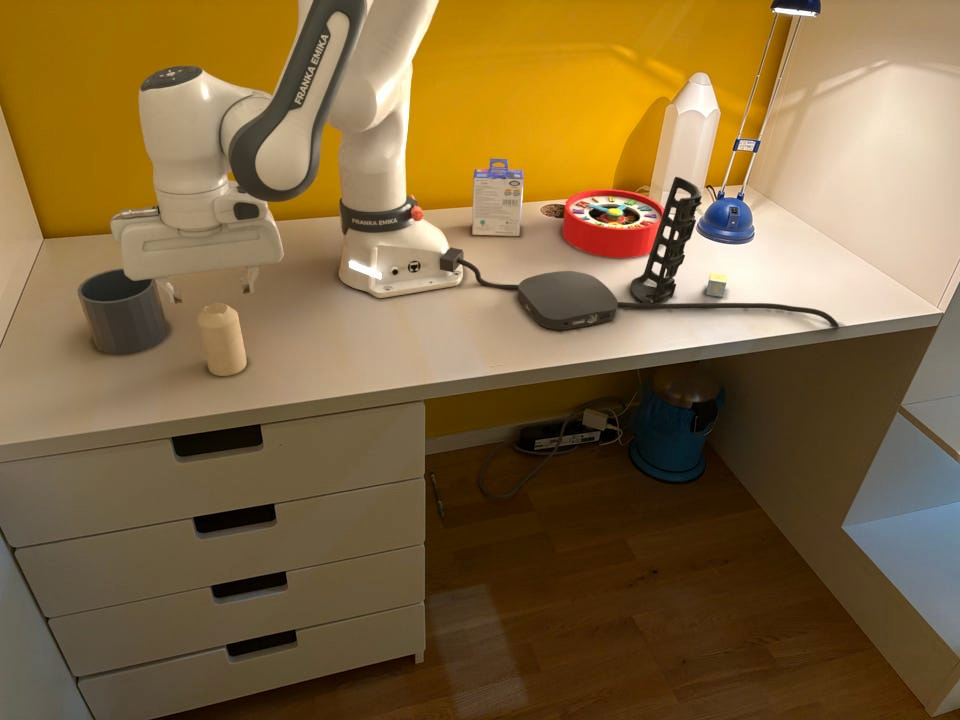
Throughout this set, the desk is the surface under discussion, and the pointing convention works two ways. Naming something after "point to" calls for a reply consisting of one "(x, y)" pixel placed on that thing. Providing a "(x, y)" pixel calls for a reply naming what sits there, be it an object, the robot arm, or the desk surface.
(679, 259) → the holder
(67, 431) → the desk surface
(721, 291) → the alphabet block
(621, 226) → the toy clock
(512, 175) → the ink cartridge box
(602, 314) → the media streaming box
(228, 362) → the candle
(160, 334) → the pen holder
